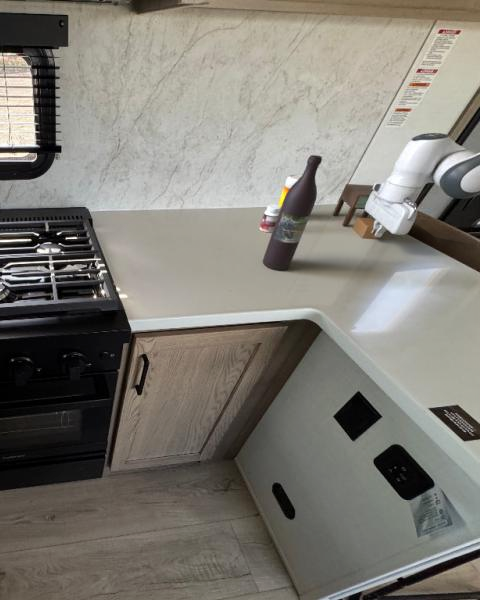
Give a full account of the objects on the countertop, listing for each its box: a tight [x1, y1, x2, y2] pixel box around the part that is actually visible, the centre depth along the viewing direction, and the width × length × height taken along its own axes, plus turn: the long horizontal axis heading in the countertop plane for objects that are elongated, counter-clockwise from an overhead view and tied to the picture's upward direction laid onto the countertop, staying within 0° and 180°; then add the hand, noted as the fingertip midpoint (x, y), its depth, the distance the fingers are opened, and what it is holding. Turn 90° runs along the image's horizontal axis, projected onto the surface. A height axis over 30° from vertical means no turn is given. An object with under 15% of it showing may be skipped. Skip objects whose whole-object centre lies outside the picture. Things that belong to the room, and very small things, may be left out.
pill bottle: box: [259, 203, 281, 233], centre depth 117 cm, size 5×5×8 cm
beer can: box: [277, 174, 303, 207], centre depth 123 cm, size 6×6×15 cm
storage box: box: [352, 217, 381, 240], centre depth 115 cm, size 8×5×4 cm, turn 167°
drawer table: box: [332, 183, 374, 228], centre depth 121 cm, size 12×11×12 cm
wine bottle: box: [262, 154, 323, 271], centre depth 91 cm, size 7×7×30 cm
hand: (375, 235), depth 111 cm, fingers closed
